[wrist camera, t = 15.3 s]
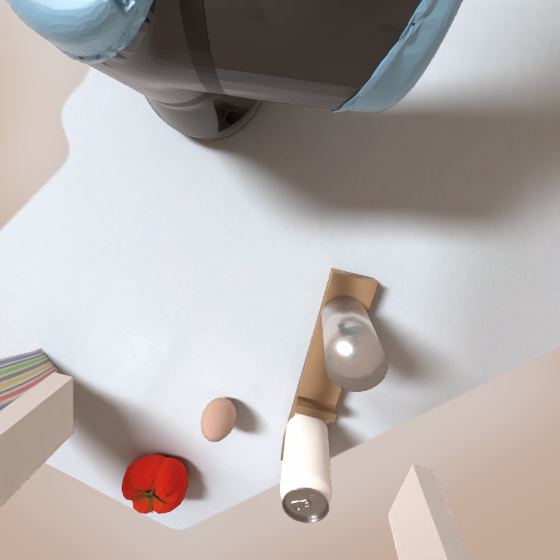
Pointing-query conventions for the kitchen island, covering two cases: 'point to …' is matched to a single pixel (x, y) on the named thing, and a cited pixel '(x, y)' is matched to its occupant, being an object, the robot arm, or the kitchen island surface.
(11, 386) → the vase
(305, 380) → the rail
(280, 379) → the kitchen island surface
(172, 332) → the kitchen island surface
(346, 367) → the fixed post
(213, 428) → the egg
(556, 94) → the kitchen island surface
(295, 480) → the can
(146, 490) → the tomato
